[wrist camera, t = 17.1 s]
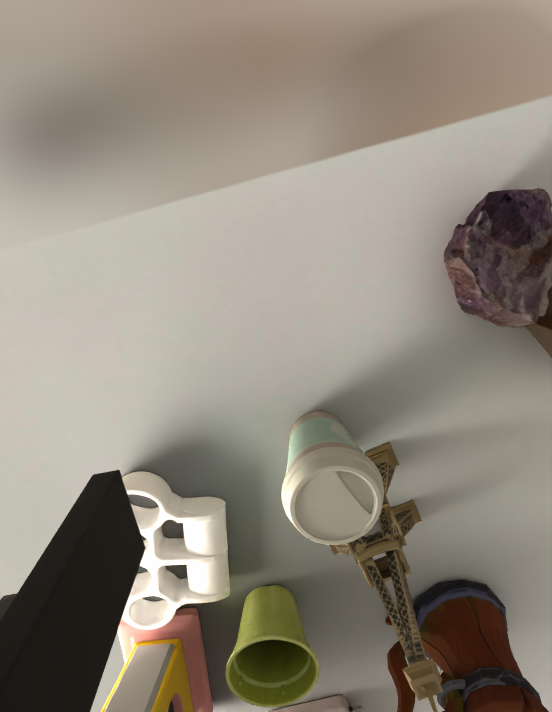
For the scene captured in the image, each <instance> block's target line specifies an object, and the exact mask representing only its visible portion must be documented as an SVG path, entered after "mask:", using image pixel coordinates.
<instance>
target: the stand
mask: <svg viewBox="0 0 552 712" xmlns="http://www.w3.org/2000/svg"><path fill="white" fill-rule="evenodd" d="M547 297H548V301H549V303H548V307H547V309H546V314H545V315H544V316H542V317H541V316H539V317H538V319H537V320H536V325H528V326H526V327H527V329H528V330H529V331H530V332H531V333H532V335H533V336H534V337H535V338H536V339H537V340H538V342H539V343H540V344H541V345H542V346H543V348H544V349H545V350H546V351H547V352H548V354H549V355H550V356H551V357H552V287H551V288H549V289H548V292H547Z"/></svg>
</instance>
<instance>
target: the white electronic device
mask: <svg viewBox="0 0 552 712" xmlns="http://www.w3.org/2000/svg"><path fill="white" fill-rule="evenodd" d="M360 708H363V706H362V705H360V706H356V707H352V706H350V707H349V704H348V702H347V700H346V699H345V697H344V696H342V695H337V696H333V697H329V698H325V699H320V700H316V701H312V702H308V703H303V704H299V705H295V706H290V707H286V708H282V709H277V710H272V711H269V712H352V711H353V710H355V709H360Z"/></svg>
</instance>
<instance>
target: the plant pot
mask: <svg viewBox="0 0 552 712" xmlns="http://www.w3.org/2000/svg"><path fill="white" fill-rule="evenodd" d="M318 676H319V664H318V660H317V657H316V655H315V654H314V652H313V651H312V649H311V648H310V646H309V644H308V643H307V641H306V637H305V634H304V630H303V627H302V623H301V619H300V616H299V612H298V608H297V605H296V601H295V598H294V596H293V595H292V593H291V592H290V591H289V590H287V589H286V588H284V587H282V586H278V585H272V586H267V587H263V586H260V587H258V588H256V589H254V590H253V591H252V592H251V593H250V594H249V595H248V596H247V598H246V600H245V603H244V608H243V614H242V619H241V624H240V629H239V634H238V639H237V643H236V646H235V648H234V650H233V653H232V654H231V656H230V658H229V660H228V662H227V666H226V681H227V684H228V686H229V688H230V690H231V691H232V692H233V693H234V694H235V695H236V696H237V697H238V698H240V699H241V700H243V701H245V702H247V703H250V704H252V705H256V706H261V707H281V706H285V705H288V704H290V703H293V702H296V701H298V700H300V699H302V698H303V697H304V696H306V695H307V694H308V693H309V692H310V691H311V690H312V689H313V687H314V685H315V684H316V682H317V680H318Z"/></svg>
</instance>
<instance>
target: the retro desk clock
mask: <svg viewBox="0 0 552 712" xmlns="http://www.w3.org/2000/svg"><path fill="white" fill-rule="evenodd" d="M118 634H119V638H120V643H121V647H122V652H123V656H124V661H125V666H124V668H123V670H122V672H121V674H120V676H119V678H118V680H117V682H116V684H115V685H114V687H113V689H112V691H111V693H110V695H109V697H108V699H107V701H106V703H105V705H104V707H103V709H102V711H101V712H213V705H212V699H211V692H210V686H209V679H208V673H207V666H206V660H205V653H204V647H203V640H202V634H201V627H200V621H199V614H198V610H197V609H196V608H184V609H176V613H175V615H174V617H173V618H172V619H171V621H170V622H168V623H167V624H166V625H164V626H162V627H160V628H156V629H140V628H136V627H133V626H131V625H130V624H128V623H127V622H125V621H124V620H123V619H121V622H120V625H119V628H118Z"/></svg>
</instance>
